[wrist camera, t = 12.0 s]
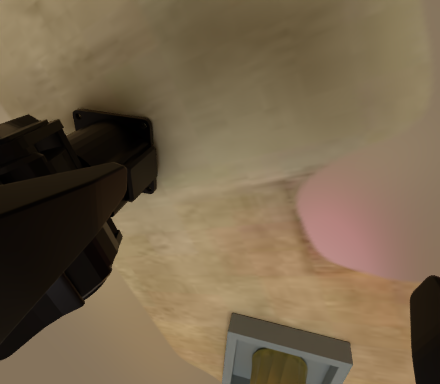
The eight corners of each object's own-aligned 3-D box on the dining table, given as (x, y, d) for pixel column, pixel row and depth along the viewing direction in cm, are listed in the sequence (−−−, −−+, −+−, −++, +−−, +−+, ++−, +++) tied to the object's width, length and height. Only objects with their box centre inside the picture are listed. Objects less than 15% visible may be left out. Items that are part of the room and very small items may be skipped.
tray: (225, 371, 37) (221, 389, 35) (232, 312, 31) (227, 331, 29) (321, 399, 35) (321, 420, 33) (349, 342, 29) (353, 364, 27)
